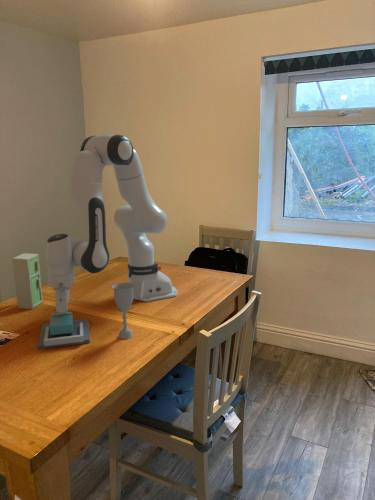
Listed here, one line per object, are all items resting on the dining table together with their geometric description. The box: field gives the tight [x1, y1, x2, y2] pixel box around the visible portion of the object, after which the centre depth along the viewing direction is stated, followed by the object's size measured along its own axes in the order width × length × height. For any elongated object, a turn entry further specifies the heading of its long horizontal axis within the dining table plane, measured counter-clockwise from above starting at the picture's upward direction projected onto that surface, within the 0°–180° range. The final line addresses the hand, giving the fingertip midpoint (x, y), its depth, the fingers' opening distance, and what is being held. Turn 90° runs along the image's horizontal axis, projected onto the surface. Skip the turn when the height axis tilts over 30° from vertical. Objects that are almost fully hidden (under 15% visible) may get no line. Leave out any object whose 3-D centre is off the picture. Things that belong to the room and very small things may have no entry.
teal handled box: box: [49, 311, 74, 338], centre depth 134 cm, size 7×10×5 cm
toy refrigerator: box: [12, 252, 44, 310], centre depth 157 cm, size 8×7×21 cm
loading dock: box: [37, 318, 91, 350], centre depth 135 cm, size 16×21×4 cm
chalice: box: [111, 282, 134, 340], centre depth 131 cm, size 7×7×18 cm
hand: (64, 315), depth 143 cm, fingers open, 5 cm apart
